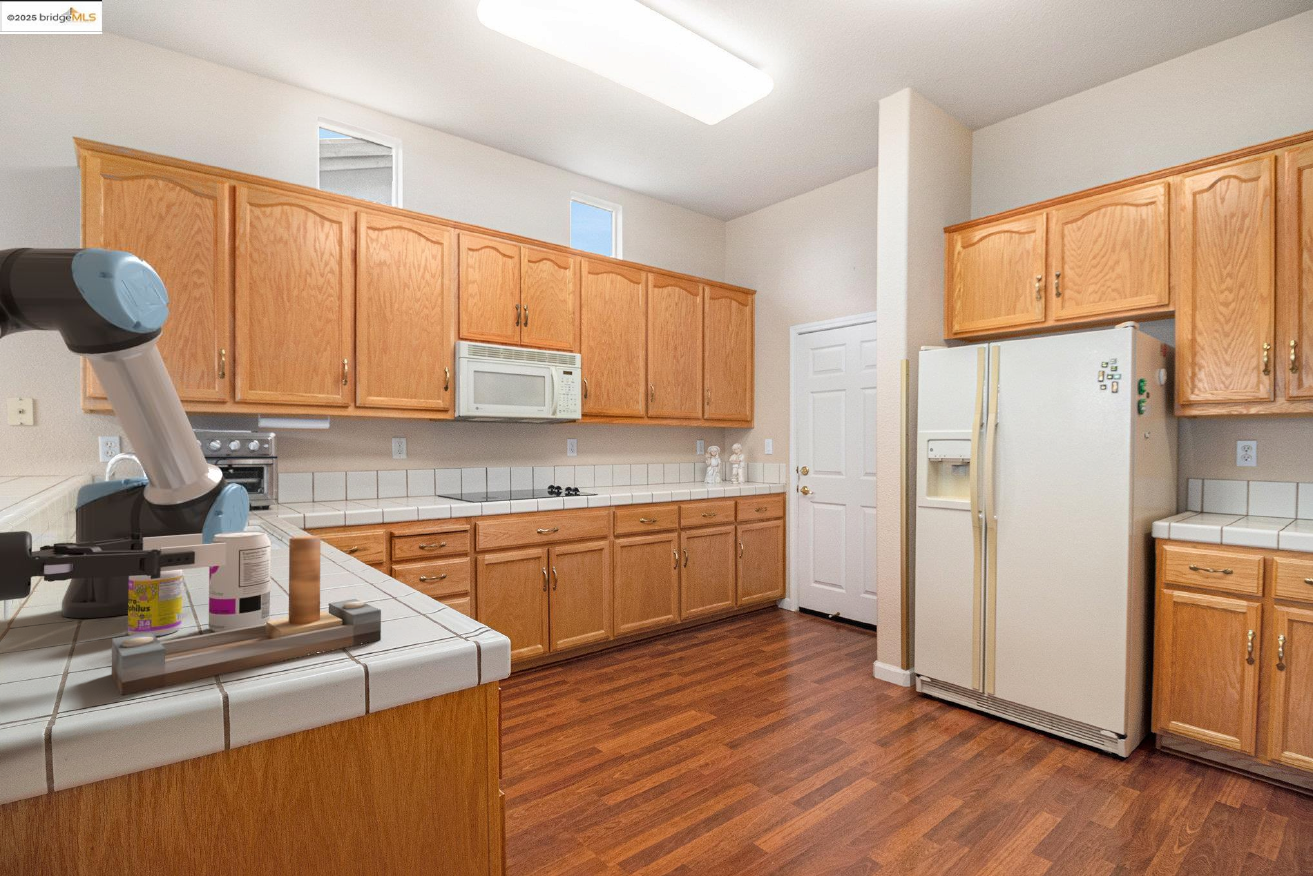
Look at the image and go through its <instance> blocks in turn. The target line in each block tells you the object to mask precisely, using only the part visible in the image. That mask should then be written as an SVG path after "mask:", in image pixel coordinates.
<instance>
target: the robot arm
mask: <svg viewBox="0 0 1313 876" xmlns="http://www.w3.org/2000/svg"><path fill="white" fill-rule="evenodd" d="M169 303H170V301H169V296H168V292H167V289H166V286H165V284H164V282H163V280H162V279H161V277H160V276H159V274H158V273H157V272H156V271H155V269H154V268H153V267H152V266H151V265H150V264H149V263H147V261H145V260H144V259H142V258H140V257H138V256H136V255H135V254H132V253H130V252H127V251H123V250H112V249H105V248H100V247H90V248H77V247H76V248H68V247H67V248H55V247H54V248H51V247H50V248H39V247H37V248H35V247H13V248H8V249H7V248H6V249H0V340H1V339H2V338H4V337H6V336H11V335H12V334H16V333H22V332H28V331H51V332H52V331H53V332H54V331H57V332H59V334H60V336H61V338H62V339H63V341H64V343H65V345H66V347H67V349H68V351H69V352H70V353H72V354H74V355H76V356H80V357H83V358H84V359H85V358H86V359H87V360H88V362H89V364H90V366H91V368H92V370H93V372H94V374H95V376H96V378H97V380H98V382H99V384H100V386H101V388H102V390H103V392H104V394H105V396H106V398H107V400H108V402H109V404H110V406H111V408H112V410H113V412H114V414H115V416H116V418H117V420H118V422H119V424H120V426H121V429H122V430H123V432H124V434H125V436H126V438H127V440H128V442H129V444H130V446H131V448H132V450H133V452H134V454H135V456H136V458H137V460H138V462H139V464H140V466H141V468H142V470H143V472H144V474H145V476H142V477H140V476H139V477H131V478H122V479H121V478H119V479H112V480H104V481H97V482H91V483H87V484H84V485H82V486H81V487H80V488H79V489H78V492H77V499H76V506H75V508H74V510H75V511H74V512H75V542H57V543H53V545H48V544H47V545H43V546H39V550H35V551H33V537H32V534H31V532H30V531H27V530H22V531H21V530H20V531H18V530H17V531H5V532H4V531H3V532H1V531H0V602H2V601H12V600H19V599H25V598H27V597H29V595H30V594H31V588H32V578H33V577H43V581H44V582H51V583H52V582H55V581H62V582H63V581H67V580H70V582H69V584H68V586H67V589H66V591H65V594H64V596H63V599H62V601H61V616H62V617H65V618H72V619H73V618H74V619H75V618H76V619H91V618H95V619H96V618H105V617H114V616H124V615H128V599H129V576H139V575H147V576H151V578H150V579H157V578H160V577H161V572H162V571H171V570H181V569H182V570H188V569H189V570H191V569H198V568H209V567H211V566H220V565H226V543H215V544H211V543H212V541H213V539H214V536H215V535H217V534H222V533H229V532H242V531H244V529H245V528H246V525H247V523H248V517H249V515H250V497H249V493H248V491H247V489H246V488H245V487H244V486H243V485H240V484H237V483H235V482H233V483H232V482H231V483H228V482H227V481H226V479H225V476H224V473H223V472H222V471H223V470H221V468H220V467H219V466H217V465H214V464H212V463H208V462H207V459H206V458H205V455H204V452H203V451H202V447H201V446H200V444H199V441H198V438H197V437H196V435H195V431H194V429H193V427H192V425H191V423H190V420H189V417H188V415H187V414H186V411H185V409H184V408H185V407H184V406H183V404H182V401H181V399H180V397H179V394H178V393H177V390H176V387H175V385H174V382H173V381H172V378H171V376H170V374H169V371H168V369H167V367H166V364H165V362H164V360H163V357H162V356H161V353H160V350H159V349H158V345H157V342H158V341H159V340H160V338H161V336H162V335H163V329H162V326H163V325H164V324H166V321H168V320H167V319H168V316H169V313H170V309H169V308H168V307H167V305H169Z"/></svg>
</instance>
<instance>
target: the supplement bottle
mask: <svg viewBox="0 0 1313 876" xmlns="http://www.w3.org/2000/svg"><path fill="white" fill-rule="evenodd" d="M150 578H151V576H147V575H139V576H129V599H128V614H127V634H128V636H131V635H137V634H143V633H150V632H152V633H153V635H154V636H155V637H156V638H157V637H161V636H165V635H166V636H167V635H169V634H173V633H175V632H178V631H179V630H180V629H181V627H182V623H183V622H182V621H183V620H182V619H183V617H182V616H183V569H181V570H171V571H162V572H161V577H160V578H157V579H150Z"/></svg>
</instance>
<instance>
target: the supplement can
mask: <svg viewBox="0 0 1313 876" xmlns="http://www.w3.org/2000/svg"><path fill="white" fill-rule="evenodd" d="M215 543H226V565H220V566H211V567H208V570H209V571H208V572H209V573H208V582H209V583H208V628H209V629H211V630H212V631H213V633H215V632H221V631H227V630H233V629H238V628H244V627H250V626H256V625H262V624H265V623H266V621H270V620H271V619H270V618H271V616H270V615H271V612H270V611H271V540H270V538H269V537H268V535H267V531H263V530H261V531H260V530H246V531H244V530H243V531H242V532H229V533H222V534H217V535H215V536H214V539H213V541H212V543H211V544H215Z"/></svg>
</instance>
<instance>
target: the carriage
mask: <svg viewBox="0 0 1313 876" xmlns="http://www.w3.org/2000/svg"><path fill="white" fill-rule="evenodd" d="M288 541H289V542H288V544H289V545H288V546H289V547H288V549H289V552H288V553H289V555H288V561H289V562H288V568H289V569H288V617H285V618H284V617H283V618H278V619H273V620H271V619H270V620H269V621H266V635H267V636H268V637H269V638H271V639H274V638H279V637H284V636H290V635H295V634H300V633H306V632H311V631H316V630H321V629H327V628H332V627H337V626H342V619H340V618H338V617H336V616H334V615H332V614H330V613H329V611H328V612H327V611H325V610H324V611H321V550H322V549H321V547H322V545H321V536H318V535H307V536H306V535H305V536H303V535H302V536H295V537H294V536H293V537H290V538H289V540H288Z"/></svg>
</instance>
